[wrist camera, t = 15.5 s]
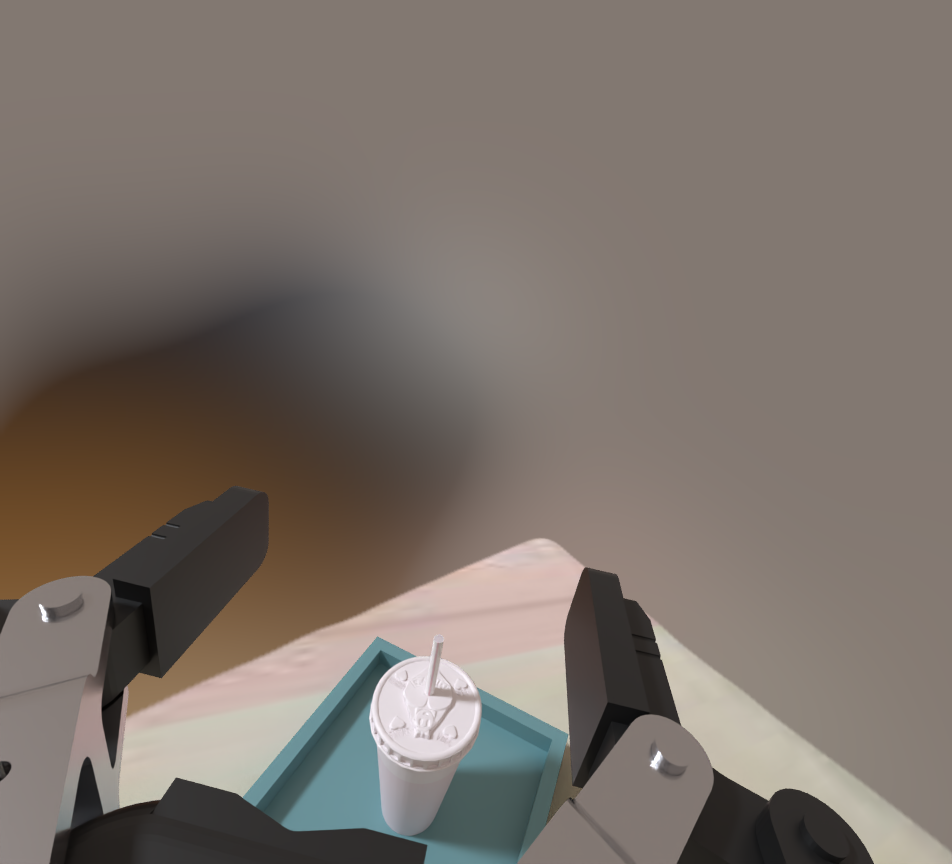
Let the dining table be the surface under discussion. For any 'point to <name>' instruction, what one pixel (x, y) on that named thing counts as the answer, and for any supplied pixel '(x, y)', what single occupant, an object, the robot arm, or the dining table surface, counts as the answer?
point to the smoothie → (421, 735)
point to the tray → (468, 796)
